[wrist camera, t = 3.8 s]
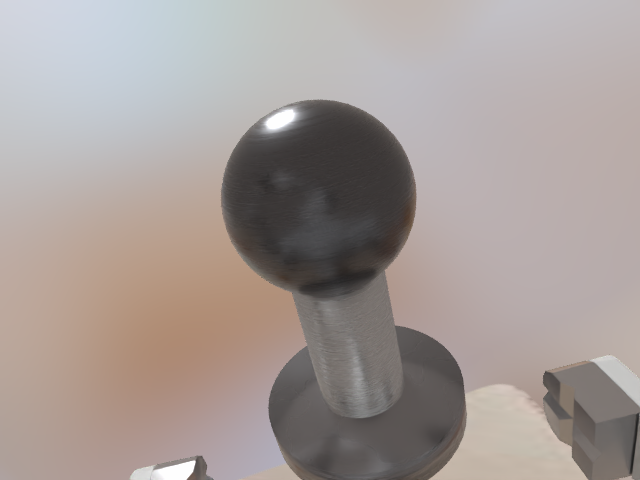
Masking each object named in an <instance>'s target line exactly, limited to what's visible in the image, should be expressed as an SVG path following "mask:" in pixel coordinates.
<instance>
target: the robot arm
mask: <svg viewBox="0 0 640 480" xmlns="http://www.w3.org/2000/svg"><path fill="white" fill-rule="evenodd" d="M543 384H544V386H545V387H546V388H547V389H548V393H547V394H546V395H545V397H544V398H543V404H544V412H545V415H546V418H547V421H548V423H549V425H550V427H551V429H552V430H553V432H554V433H555V435H556V436H557V438H558V439H559V440H560V441H562V442H564V443H566V444H568V445H570V446H571V447H572V458H573V459H574V461H575V462H576V463H577V465H578V466H579V467H580V469H581V470H582V471H583V473H584V474H585V475H586V477H587V478H588V480H614V479H619V478H623V477H628V476H632V478H633V479H634V480H640V378H639V377H638V376H636V375H635V374H634V373H633V372H632V371H631V370H630V369H628V368H627V367H626V366H625V365H624V364H623V363H622V362H621V361H619V360H618V359H617V358H616V357H613V356H611V355H608V356H604V357H600V358H596V359H592V360H588V361H583V362H579V363H575V364H571V365H567V366H563V367H560V368H556V369H552V370H548V371H545V373H544V375H543ZM206 470H207V465H206V462H205V461H204V459H203V457H202V456H195V457H190V458H185V459H181V460H176V461H172V462H167V463H162V464H157V465H155V466H150V467H145V468H141V469H136V470H135V472H134V473H133V474H132V475H131V477H130V479H129V480H214V479H213V478H211V477H210V476H207V475H206Z"/></svg>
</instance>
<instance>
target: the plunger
mask: <svg viewBox="0 0 640 480" xmlns="http://www.w3.org/2000/svg"><path fill="white" fill-rule="evenodd" d="M221 206H222V214H223V219H224V222H225V226H226V229H227V232H228V235H229V237H230V239H231V242H232V244H233V245H234V247H235V249H236V250H237V252H238V254H239V255H240V256H241V258H242V259H243V260H244V261H245V262H246V264H247V265H248V266H249V267H250V268H251V269H252V270H253V271H255V272H256V273H257V274H258V275H259V276H261V277H262V278H264V279H265V280H266V281H268V282H269V283H271V284H273V285H275V286H277V287H280V288H282V289H284V290H287V291H290V292H292V294H293V298H294V302H295V305H296V308H297V312H298V316H299V319H300V322H301V326H302V329H303V333H304V336H305V340H306V343H307V346H306V347H305V348H303V349H302V350H301V351H299V352H298V353H297V354H296V355H295V356H294V357H293V358H292V359H291V360H290V361H289V362H288V363H287V364H286V365H285V366H284V368H283V369H282V370H281V372H280V374H279V375H278V377H277V378H276V380H275V383H274V385H273V387H272V390H271V394H270V398H269V418H270V422H271V426H272V429H273V432H274V434H275V437H276V440H277V442H278V445H279V448H280V451H281V453H282V455H283V457H284V459H285V461H286V462H287V464H288V465H289V467H290V468H291V469H292V470H293V471H294V473H295V474H296V475H297V476H298V477H299V478H301V479H302V480H428V479H430V478H431V477H432V476H434V475H435V474H436V473H437V472H438V471H440V470H441V469H442V468H443V467H444V466H445V465H446V464H447V462H448V461H449V460H450V459H451V458H452V456H453V455H454V453H455V452H456V450H457V449H458V447H459V445H460V442H461V440H462V438H463V435H464V431H465V427H466V418H467V412H466V402H465V393H464V385H463V377H462V374H461V370H460V368H459V366H458V364H457V362H456V360H455V359H454V358H453V356H452V355H451V353H450V352H449V351H448V350H447V349H446V348H445V347H444V346H443V345H441V344H440V343H439V342H438V341H436V340H434V339H433V338H431V337H429V336H428V335H425V334H423V333H421V332H419V331H416V330H412V329H409V328H406V327H400V326H395V325H394V319H393V314H392V308H391V303H390V297H389V292H388V286H387V281H386V276H385V269H387V268H388V266H389V265H390V264H391V263H392V262H393V261H394V260H395V258H396V257H397V256H398V254H399V253H400V251H401V250H402V248H403V246H404V245H405V243H406V241H407V239H408V236H409V233H410V231H411V228H412V226H413V221H414V217H415V210H416V184H415V179H414V174H413V171H412V168H411V165H410V162H409V160H408V157H407V155H406V153H405V151H404V150H403V148H402V146H401V144H400V143H399V142H398V140H397V139H396V137H395V136H394V135H393V134H392V133H391V132H390V131H389V130H388V129H387V128H386V127H385V126H384V124H382V123H381V122H380V121H379V120H377V119H376V118H375V117H373V116H372V115H370V114H368V113H367V112H365V111H363V110H361V109H359V108H356V107H354V106H351V105H349V104H345V103H341V102H337V101H330V100H329V101H328V100H307V101H300V102H296V103H292V104H289V105H286V106H283V107H281V108H279V109H276V110H274V111H272V112H271V113H269V114H268V115H266V116H264V117H263V118H261V119H260V120H259V121H258V122H257V123H255V124H254V125H253V126H252V127H251V128H250V129H249V130H248V131H247V132H246V133H245V135H243V137H242V138H241V139H240V141H239V142H238V144H237V145H236V147H235V149H234V150H233V152H232V154H231V156H230V158H229V160H228V163H227V166H226V170H225V173H224V177H223V183H222V190H221Z"/></svg>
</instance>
